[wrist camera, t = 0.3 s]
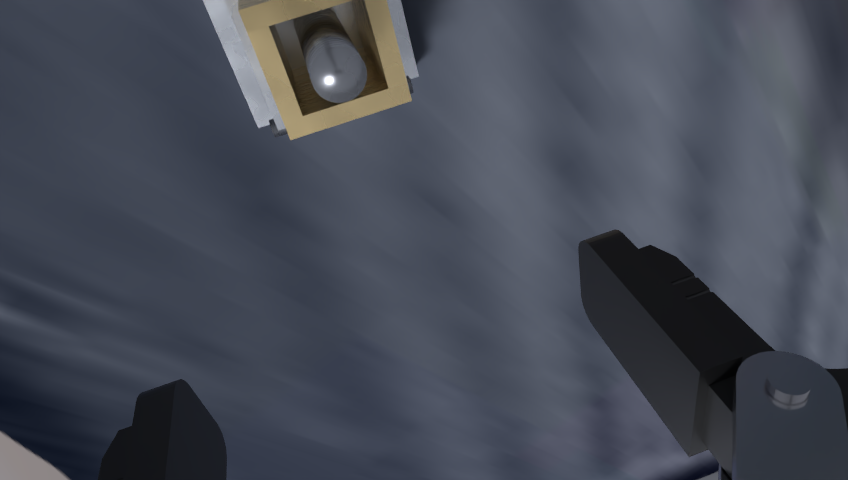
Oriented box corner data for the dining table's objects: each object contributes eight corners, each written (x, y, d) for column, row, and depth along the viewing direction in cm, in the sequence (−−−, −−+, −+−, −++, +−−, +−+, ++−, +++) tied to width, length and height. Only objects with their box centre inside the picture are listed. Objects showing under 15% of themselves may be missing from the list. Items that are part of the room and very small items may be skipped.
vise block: (162, -104, 28) (108, -70, 17) (357, -160, 29) (437, -164, 17) (257, 118, 35) (267, 251, 24) (412, 68, 36) (495, 173, 25)
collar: (238, -21, 25) (238, 10, 20) (352, -55, 26) (378, -33, 21) (281, 90, 28) (290, 140, 24) (382, 58, 29) (412, 100, 24)
